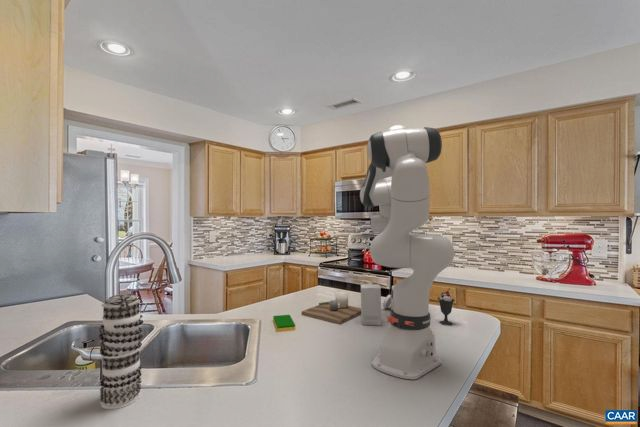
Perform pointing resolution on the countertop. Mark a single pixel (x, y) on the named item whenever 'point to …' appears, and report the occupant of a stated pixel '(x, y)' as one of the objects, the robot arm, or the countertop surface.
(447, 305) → the sundae
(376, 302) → the skincare box
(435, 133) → the robot arm
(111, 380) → the decorative candle
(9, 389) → the countertop surface
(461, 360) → the countertop surface
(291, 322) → the dish sponge
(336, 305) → the lever
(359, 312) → the wooden cutting board
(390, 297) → the spread jar
